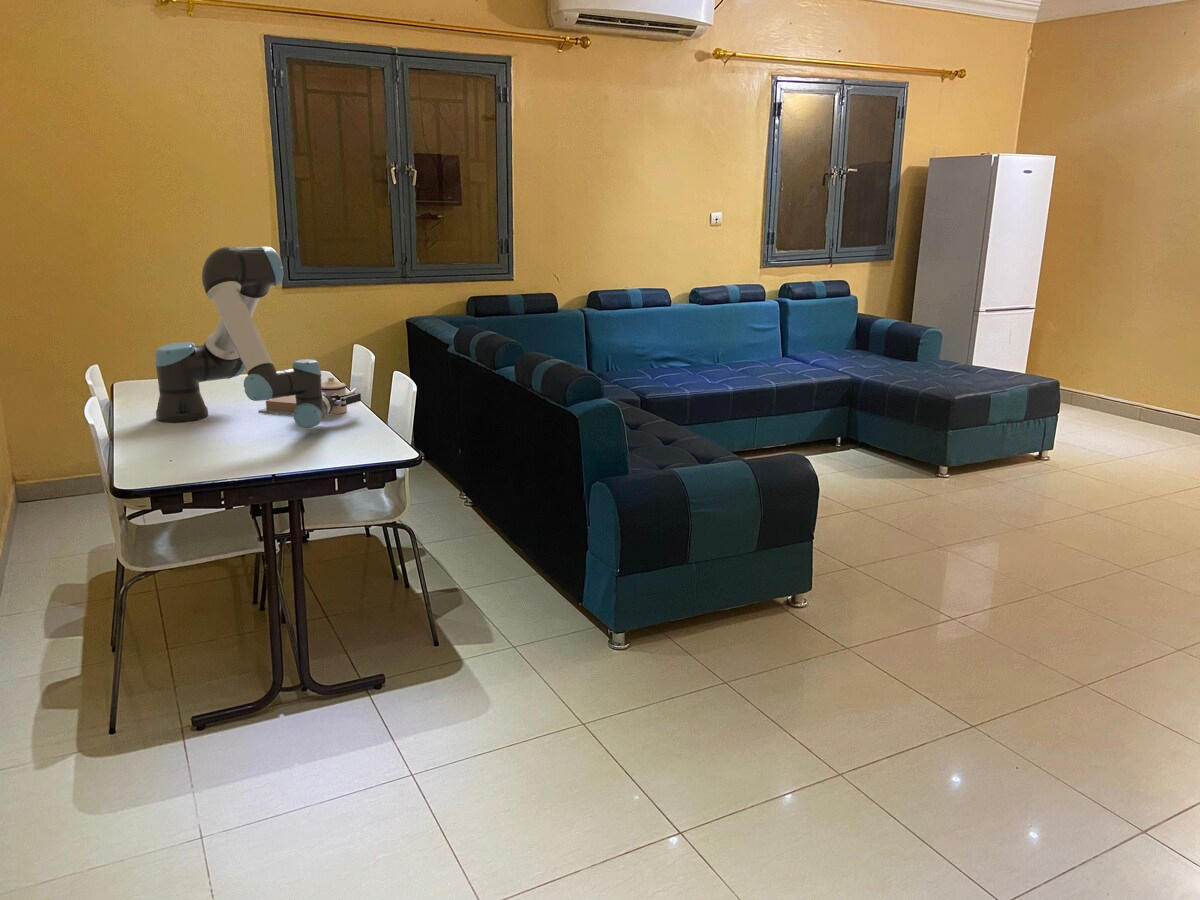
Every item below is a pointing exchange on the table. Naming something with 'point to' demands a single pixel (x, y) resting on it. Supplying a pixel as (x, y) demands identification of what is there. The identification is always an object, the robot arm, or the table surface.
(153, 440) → the table surface
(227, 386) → the table surface
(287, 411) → the build base
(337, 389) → the teacup with lid
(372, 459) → the table surface
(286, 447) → the table surface
